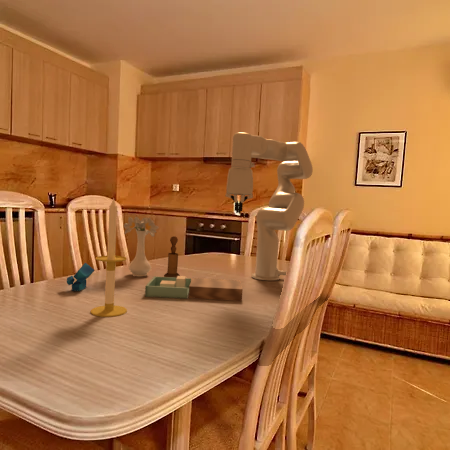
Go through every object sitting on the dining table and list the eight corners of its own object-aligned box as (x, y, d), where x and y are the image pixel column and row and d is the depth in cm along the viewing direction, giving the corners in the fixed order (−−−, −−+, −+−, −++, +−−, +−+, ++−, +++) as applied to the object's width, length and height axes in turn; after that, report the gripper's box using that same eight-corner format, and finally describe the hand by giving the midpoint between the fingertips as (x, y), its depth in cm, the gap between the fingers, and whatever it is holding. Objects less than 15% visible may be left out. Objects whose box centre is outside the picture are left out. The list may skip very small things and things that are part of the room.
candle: (93, 318, 98) (97, 196, 96) (88, 307, 106) (92, 195, 104) (130, 315, 102) (135, 198, 100) (123, 305, 111) (127, 198, 109)
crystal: (60, 272, 120) (77, 258, 132) (62, 296, 123) (78, 280, 134) (83, 274, 120) (97, 260, 131) (84, 297, 122) (98, 282, 134)
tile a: (186, 276, 132) (177, 275, 132) (184, 279, 127) (176, 278, 127) (185, 289, 133) (177, 289, 132) (184, 293, 128) (175, 292, 127)
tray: (190, 287, 139) (191, 278, 138) (186, 298, 123) (187, 288, 122) (153, 285, 138) (154, 276, 138) (144, 296, 122) (145, 286, 122)
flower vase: (159, 271, 165) (162, 216, 163) (148, 280, 147) (151, 218, 145) (131, 269, 166) (133, 214, 164) (116, 278, 147) (119, 216, 146)
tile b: (161, 280, 132) (161, 288, 132) (160, 283, 127) (159, 292, 127) (175, 281, 132) (175, 289, 132) (174, 284, 127) (174, 292, 127)
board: (239, 290, 138) (240, 280, 138) (241, 300, 124) (242, 289, 124) (191, 288, 138) (192, 277, 137) (188, 298, 124) (189, 286, 123)
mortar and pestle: (176, 283, 144) (179, 237, 143) (161, 281, 146) (163, 236, 145) (182, 280, 151) (184, 236, 150) (167, 278, 152) (169, 235, 151)
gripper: (259, 167, 146) (256, 213, 147) (221, 165, 146) (219, 211, 147) (261, 165, 138) (258, 214, 139) (221, 163, 138) (219, 212, 139)
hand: (238, 212), depth 143 cm, fingers closed
